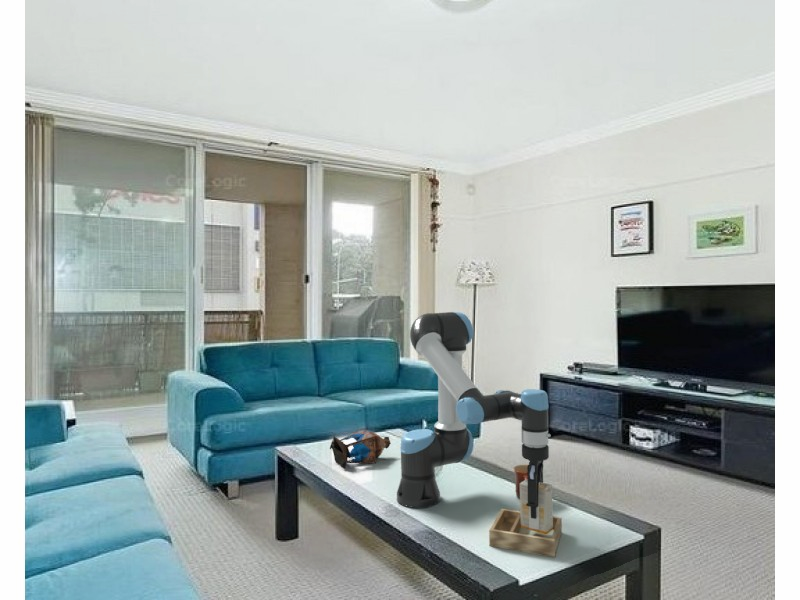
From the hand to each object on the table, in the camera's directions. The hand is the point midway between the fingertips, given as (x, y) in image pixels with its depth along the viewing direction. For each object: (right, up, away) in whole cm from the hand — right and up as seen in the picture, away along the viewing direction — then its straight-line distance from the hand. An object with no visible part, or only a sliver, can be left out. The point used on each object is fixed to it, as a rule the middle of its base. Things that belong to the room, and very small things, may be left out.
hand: (536, 523), depth 156 cm
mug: (+4, -4, +30) cm, 30 cm away
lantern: (-55, -5, +74) cm, 92 cm away
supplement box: (0, -2, 0) cm, 2 cm away
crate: (-2, -5, +1) cm, 6 cm away
